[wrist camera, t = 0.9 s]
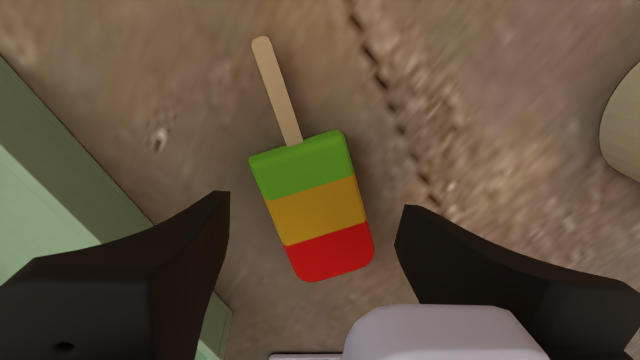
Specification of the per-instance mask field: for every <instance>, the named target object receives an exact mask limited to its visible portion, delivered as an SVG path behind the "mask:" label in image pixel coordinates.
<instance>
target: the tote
mask: <svg viewBox="0 0 640 360" xmlns="http://www.w3.org/2000/svg"><path fill="white" fill-rule="evenodd" d="M153 226H154V225H153V224H152V223H151V222H150V221H149V220H148V218H147V217H146V216H145V215H144V214H143V213H142V212H141V211H140V210H139V209H138V207H137V206H136V205H135V204H134V203H133V202H132V201H131V200H130V199H129V197H128V196H127V195H126V194H125V193H124V192H123V191H122V190H121V189H120V187H119V186H118V185H117V184H116V183H115V182H114V181H113V180H112V179H111V178H110V176H109V175H108V174H107V173H106V172H105V171H104V170H103V169H102V168H101V166H100V165H99V164H98V163H97V162H96V161H95V160H94V159H93V158H92V157H91V155H90V154H89V153H88V152H87V151H86V150H85V149H84V148H83V147H82V145H81V144H80V143H79V142H78V141H77V140H76V139H75V138H74V137H73V136H72V134H71V133H70V132H69V131H68V130H67V129H66V128H65V127H64V126H63V124H62V123H61V122H60V121H59V120H58V119H57V118H56V117H55V116H54V115H53V113H52V112H51V111H50V110H49V109H48V108H47V107H46V106H45V105H44V103H43V102H42V101H41V100H40V99H39V98H38V97H37V96H36V95H35V93H34V92H33V91H32V90H31V89H30V88H29V87H28V86H27V85H26V84H25V82H24V81H23V80H22V79H21V78H20V77H19V76H18V75H17V74H16V72H15V71H14V70H13V69H12V68H11V67H10V66H9V65H8V64H7V63H6V61H5V60H4V59H3V58H2V57H1V56H0V286H1V285H2V284H3V283H5V282H6V281H7V280H8V279H9V278H10V277H12V276H13V275H14V274H15V273H16V272H17V271H19V270H20V269H21V268H22V267H23V266H24V265H26V264H27V263H28V262H29V261H30V260H32V259H33V258H34V257H40V256H46V255H52V254H57V253H63V252H68V251H74V250H79V249H83V248H88V247H92V246H96V245H100V244H104V243H107V242H111V241H114V240H118V239H121V238H123V237H126V236H129V235H132V234H135V233H138V232H141V231H143V230H146V229H148V228H150V227H153ZM232 314H233V313H232V311H231V310H230V309H229V308H228V307H227V306H226V305H225V304H224V303H223V301H222V300H221V299H220V298H219V297H218V296H217V295H216V294H215V293H214V291H213V292H212V295H211V298H210V301H209V304H208V307H207V310H206V313H205V317H204V321H203V325H202V330H201V334H200V338H199V342H198V347H197V351H196V356H195V360H224V357H225V352H226V346H227V341H228V335H229V330H230V325H231V319H232Z"/></svg>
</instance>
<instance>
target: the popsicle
mask: <svg viewBox="0 0 640 360" xmlns="http://www.w3.org/2000/svg"><path fill="white" fill-rule="evenodd" d="M252 50H253V53H254V56H255V58H256V61H257V64H258V67H259V70H260V72H261V75H262V78H263V81H264V84H265V86H266V89H267V92H268V95H269V98H270V101H271V103H272V106H273V109H274V112H275V115H276V117H277V120H278V123H279V126H280V129H281V131H282V134H283V137H284V140H285V143H286V145H284V146H281V147H278V148H275V149H272V150H269V151H265V152H262V153H259V154H256V155H253V156H250V158H249V165H250V167H251V169H252V172H253V174H254V177H255V179H256V181H257V184H258V186H259V189H260V191H261V193H262V196H263V198H264V200H265V203H266V205H267V208H268V210H269V212H270V215H271V217H272V219H273V222H274V224H275V227H276V229H277V231H278V234H279V236H280V239H281V241H282V243H283V246H284V248H285V250H286V253H287V255H288V258H289V260H290V262H291V265H292V267H293V269H294V271H295V273H296V275H297V276H298V277H299V278H300V279H301V280H303V281H306V282H317V281H321V280H325V279H328V278H331V277H334V276H338V275H341V274H344V273H347V272H350V271H354V270H357V269H359V268H362V267H364V266H366V265H367V264H369V263H370V262H371V260H372V259H373V255H374V244H373V240H372V236H371V233H370V229H369V225H368V222H367V218H366V214H365V210H364V207H363V203H362V199H361V196H360V192H359V188H358V184H357V181H356V177H355V173H354V170H353V166H352V162H351V158H350V155H349V151H348V147H347V144H346V140H345V137H344V135H343V133H342V132H341V131H340V130H336V129H335V130H331V131H328V132H325V133H322V134H319V135H316V136H312V137H309V138H306V139H303V138H302V135H301V132H300V129H299V126H298V123H297V120H296V117H295V114H294V111H293V108H292V105H291V102H290V99H289V96H288V93H287V90H286V87H285V84H284V81H283V77H282V74H281V71H280V68H279V65H278V62H277V59H276V56H275V53H274V50H273V47H272V44H271V42H270V40H269V39H268V38H267V37H265V36H261V37H258V38H255V39H254V40H253V41H252Z"/></svg>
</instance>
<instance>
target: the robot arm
mask: <svg viewBox="0 0 640 360" xmlns="http://www.w3.org/2000/svg"><path fill="white" fill-rule="evenodd" d="M229 226H230V192H229V191H215V190H214V191H212V192H211V193H209V194H208V195H206V196H205V197H204V198H202V199H201V200H199V201H198V202H196V203H195V204H193V205H191V206H190V207H188V208H187V209H185V210H183V211H182V212H180V213H178V214H176V215H175V216H173V217H171V218H169V219H168V220H166V221H164V222H162V223H159V224H157V225H155V226H153V227H150V228H148V229H146V230H143V231H141V232H138V233H135V234H132V235H129V236H126V237H123V238H121V239H118V240H114V241H111V242H107V243H104V244H100V245H96V246H92V247H88V248H83V249H79V250H74V251H68V252H63V253H57V254H52V255H46V256H40V257H34V258H33V259H32V260H30V261H29V262H28V263H27V264H26V265H24V266H23V267H22V268H21V269H20V270H19V271H17V272H16V273H15V274H14V275H13V276H12V277H10V278H9V279H8V280H7V281H6V282H5V283H3V284H2V285H1V286H0V360H195V356H196V351H197V347H198V342H199V338H200V334H201V330H202V325H203V321H204V317H205V313H206V310H207V307H208V304H209V301H210V298H211V295H212V292H213V290H214V287H215V284H216V281H217V278H218V276H219V273H220V270H221V267H222V264H223V261H224V258H225V254H226V250H227V245H228V240H229ZM394 247H395V250H396V253H397V256H398V259H399V262H400V265H401V267H402V269H403V271H404V273H405V275H406V277H407V279H408V281H409V283H410V285H411V287H412V289H413V291H414V293H415V295H416V296H417V298H418V300H419V302H420V304H393V305H387V306H382V307H376V308H374V309H373V310H371V311H370V312H368V313H367V314H365V315H363V316H362V317H360V318H359V319H357V320H356V322H355V323H354V325H353V327H352V328H351V330H350V332H349V333H348V335H347V337H346V340H345V345H344V349H343V354H274V355H271V356H270V357H269V359H268V360H633V359H632V358H631V357H630V356H629V355H628V354H627V353H626V352H624V351H623V350H624V349H625V347H626V346H627V344H628V343H629V342H630V340H631V339H632V337H633V336H634V335H635V333H636V332H637V330H638V329H639V328H640V293H639V292H637V291H636V290H634V289H633V288H631V287H630V286H629V285H627V284H626V283H624V282H622V281H619V280H616V279H611V278H607V277H602V276H598V275H593V274H588V273H584V272H579V271H575V270H571V269H568V268H564V267H560V266H556V265H553V264H550V263H546V262H543V261H540V260H537V259H534V258H531V257H528V256H525V255H522V254H519V253H517V252H514V251H511V250H509V249H506V248H504V247H502V246H499V245H497V244H494V243H492V242H490V241H488V240H485V239H483V238H481V237H479V236H477V235H475V234H473V233H471V232H469V231H467V230H465V229H464V228H462V227H460V226H458V225H456V224H454V223H452V222H451V221H449V220H447V219H445V218H443V217H442V216H440V215H438V214H436V213H434V212H432V211H430V210H428V209H426V208H424V207H422V206H419V205H407V204H405V205H404V209H403V213H402V217H401V220H400V224H399V228H398V232H397V235H396V239H395V243H394Z"/></svg>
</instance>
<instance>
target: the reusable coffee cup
mask: <svg viewBox="0 0 640 360" xmlns="http://www.w3.org/2000/svg"><path fill="white" fill-rule="evenodd" d="M599 143H600V150H601V152H602V155H603V157H604V159H605V160H606V162H607V163H608V164H609V165H610V166H611V167H612V168H614V169H615V170H617V171H619V172H621V173H622V174H624V175H626V176H628V177H630V178H632V179H634V180H636V181H637V182H639V183H640V62H639V63H638V64H637V65H636V66H635V67H634V68H633V69H632V70H630V71H629V73H628V74H627V75H626V76H625V77H624V79H623V80H622V81H621V82H620V84H619V85H618V86H617V88H616V90H615V91H614V93H613V94H612V96H611V98H610V99H609V102H608V104H607V106H606V108H605V111H604V113H603V117H602V120H601V124H600V131H599Z"/></svg>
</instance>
